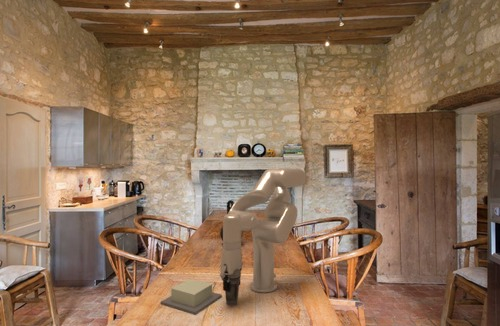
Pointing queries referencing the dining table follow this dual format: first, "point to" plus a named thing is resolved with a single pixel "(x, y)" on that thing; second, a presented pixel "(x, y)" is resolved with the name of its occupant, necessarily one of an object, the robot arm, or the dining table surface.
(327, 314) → the dining table surface
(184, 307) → the plinth
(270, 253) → the robot arm
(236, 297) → the beverage cup
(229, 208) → the ceramic jug
